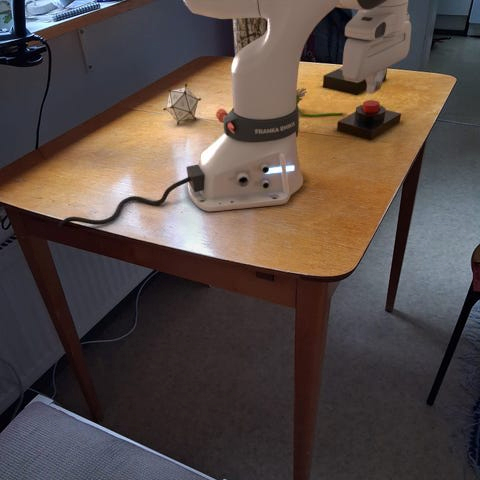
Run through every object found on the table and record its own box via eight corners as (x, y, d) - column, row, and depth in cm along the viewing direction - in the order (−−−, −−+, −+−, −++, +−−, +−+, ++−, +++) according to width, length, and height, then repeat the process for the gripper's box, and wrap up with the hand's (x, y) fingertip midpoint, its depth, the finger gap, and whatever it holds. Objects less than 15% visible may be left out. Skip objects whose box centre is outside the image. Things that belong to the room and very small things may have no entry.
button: (372, 115, 106) (373, 107, 105) (359, 111, 108) (359, 103, 107) (381, 110, 108) (382, 102, 107) (368, 106, 110) (369, 98, 109)
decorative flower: (343, 80, 113) (279, 84, 114) (344, 107, 113) (280, 110, 114) (338, 97, 121) (278, 100, 122) (339, 122, 120) (279, 125, 121)
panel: (356, 95, 126) (358, 82, 123) (322, 87, 131) (323, 74, 129) (385, 80, 132) (387, 67, 130) (352, 73, 138) (353, 61, 136)
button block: (370, 140, 105) (373, 122, 102) (336, 130, 110) (338, 113, 107) (399, 123, 111) (402, 105, 108) (366, 114, 116) (368, 97, 113)
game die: (179, 137, 122) (149, 106, 116) (194, 113, 125) (165, 83, 119) (199, 126, 115) (168, 93, 110) (214, 101, 118) (185, 68, 112)
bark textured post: (265, 131, 112) (262, 5, 95) (236, 130, 113) (228, 6, 96) (269, 120, 117) (267, -2, 100) (242, 119, 118) (235, -1, 101)
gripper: (396, 5, 102) (386, 75, 112) (339, 28, 92) (334, 102, 102) (423, 9, 99) (411, 80, 109) (367, 33, 89) (359, 109, 99)
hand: (373, 91), depth 105 cm, fingers closed
